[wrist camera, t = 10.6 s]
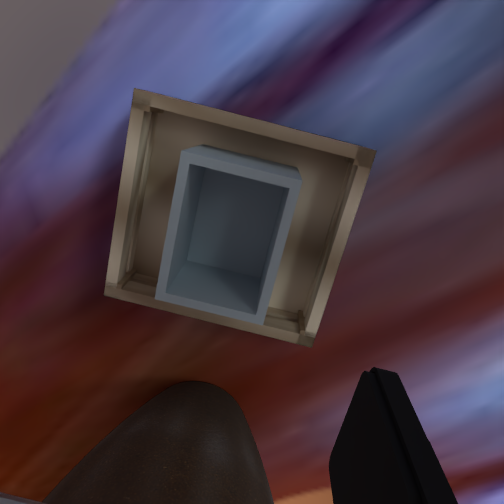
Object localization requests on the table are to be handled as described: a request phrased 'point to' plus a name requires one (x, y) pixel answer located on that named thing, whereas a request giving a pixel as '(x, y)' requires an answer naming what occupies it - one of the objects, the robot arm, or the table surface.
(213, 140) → the birch crate
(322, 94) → the table surface
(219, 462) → the plant pot
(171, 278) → the slate crate
